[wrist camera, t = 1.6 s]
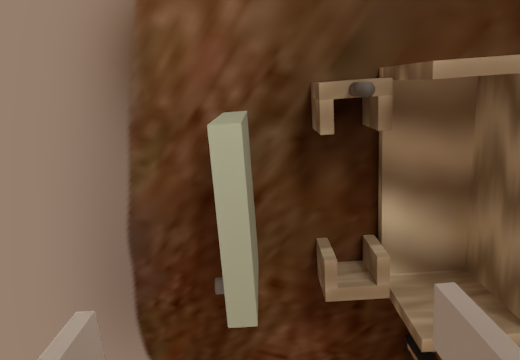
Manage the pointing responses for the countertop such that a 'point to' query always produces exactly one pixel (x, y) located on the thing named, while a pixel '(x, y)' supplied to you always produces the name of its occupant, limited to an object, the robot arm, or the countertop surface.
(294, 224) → the countertop surface
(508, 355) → the robot arm
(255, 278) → the door
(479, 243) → the carcass
